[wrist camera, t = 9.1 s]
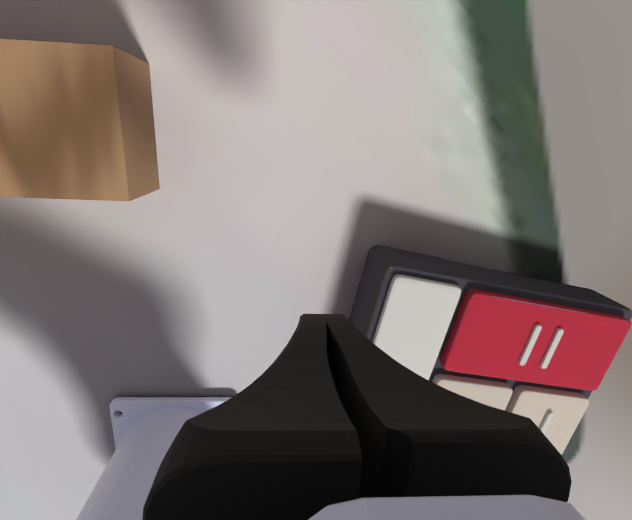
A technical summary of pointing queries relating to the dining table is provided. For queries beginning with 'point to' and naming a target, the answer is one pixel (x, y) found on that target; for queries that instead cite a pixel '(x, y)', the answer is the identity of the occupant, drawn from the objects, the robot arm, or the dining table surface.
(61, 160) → the walnut block
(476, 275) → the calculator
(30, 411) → the dining table surface
